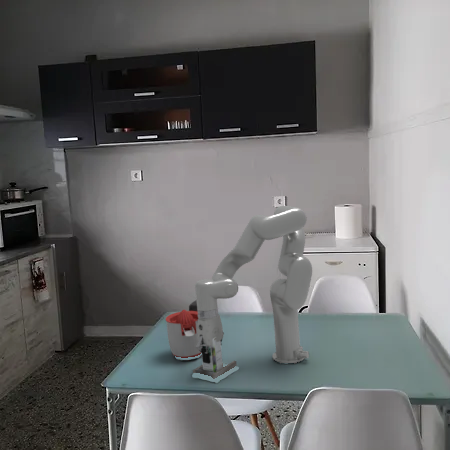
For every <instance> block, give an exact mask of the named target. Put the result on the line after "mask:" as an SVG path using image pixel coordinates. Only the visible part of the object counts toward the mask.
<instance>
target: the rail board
mask: <svg viewBox="0 0 450 450" xmlns="http://www.w3.org/2000/svg"><path fill="white" fill-rule="evenodd" d="M227 364H228V365H227V366H225V367H223V368H222V369H220V370H219V371H217V372H211V371H207V370H203V364H201V365H200V366H197V367H196V368H194V369H193V370H192V374H193V373H200V374H204V375H208V376H211V377H212V378H213V379H215V378H217V377H218V376H220V375H222V374H224V373H225V372H227V371H229V370H230V369H232V368H234V367H235V366H238V365H237V361H236V360H232V361H231V362H230V363H227Z"/></svg>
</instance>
